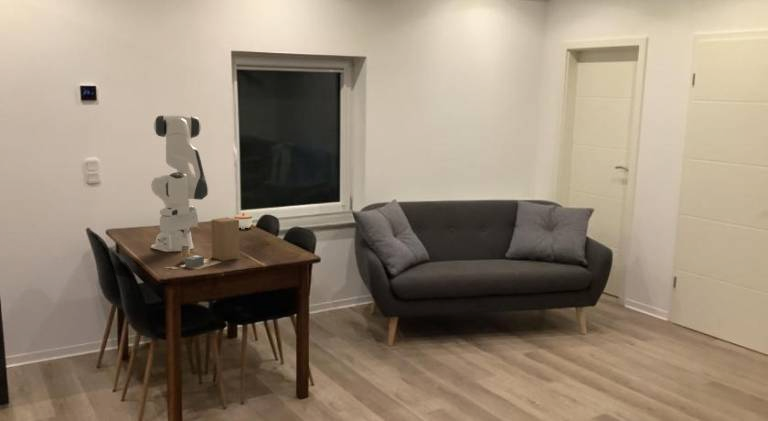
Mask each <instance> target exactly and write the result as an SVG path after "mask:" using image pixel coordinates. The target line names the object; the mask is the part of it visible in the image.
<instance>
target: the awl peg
mask: <svg viewBox="0 0 768 421" xmlns="http://www.w3.org/2000/svg"><path fill="white" fill-rule="evenodd" d="M187 257H191V249H189V246H188V245H182V249H181V251H180V260H181V263H183V264H185V258H187Z"/></svg>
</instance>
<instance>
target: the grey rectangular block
mask: <svg viewBox="0 0 768 421" xmlns="http://www.w3.org/2000/svg"><path fill="white" fill-rule="evenodd" d="M204 259H205V257H204V256H203V255H196V254H195V255H190V257H187V258H185V263H184V264H185V267H184V268H188V267H190V268H189V269H193V268H195V267H198V266H202V265H204Z"/></svg>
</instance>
